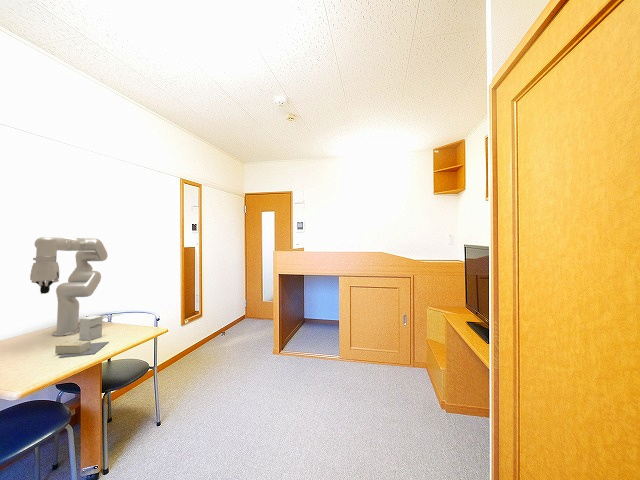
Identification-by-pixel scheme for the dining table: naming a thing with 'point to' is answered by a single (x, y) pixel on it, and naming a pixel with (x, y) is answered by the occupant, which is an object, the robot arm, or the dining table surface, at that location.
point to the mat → (93, 349)
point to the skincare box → (72, 347)
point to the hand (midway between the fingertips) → (44, 293)
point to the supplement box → (90, 327)
